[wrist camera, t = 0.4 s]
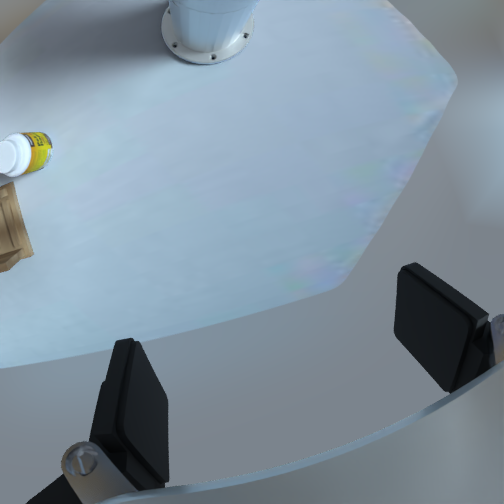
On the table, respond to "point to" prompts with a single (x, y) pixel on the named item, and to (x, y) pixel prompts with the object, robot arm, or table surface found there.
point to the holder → (12, 230)
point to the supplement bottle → (25, 153)
